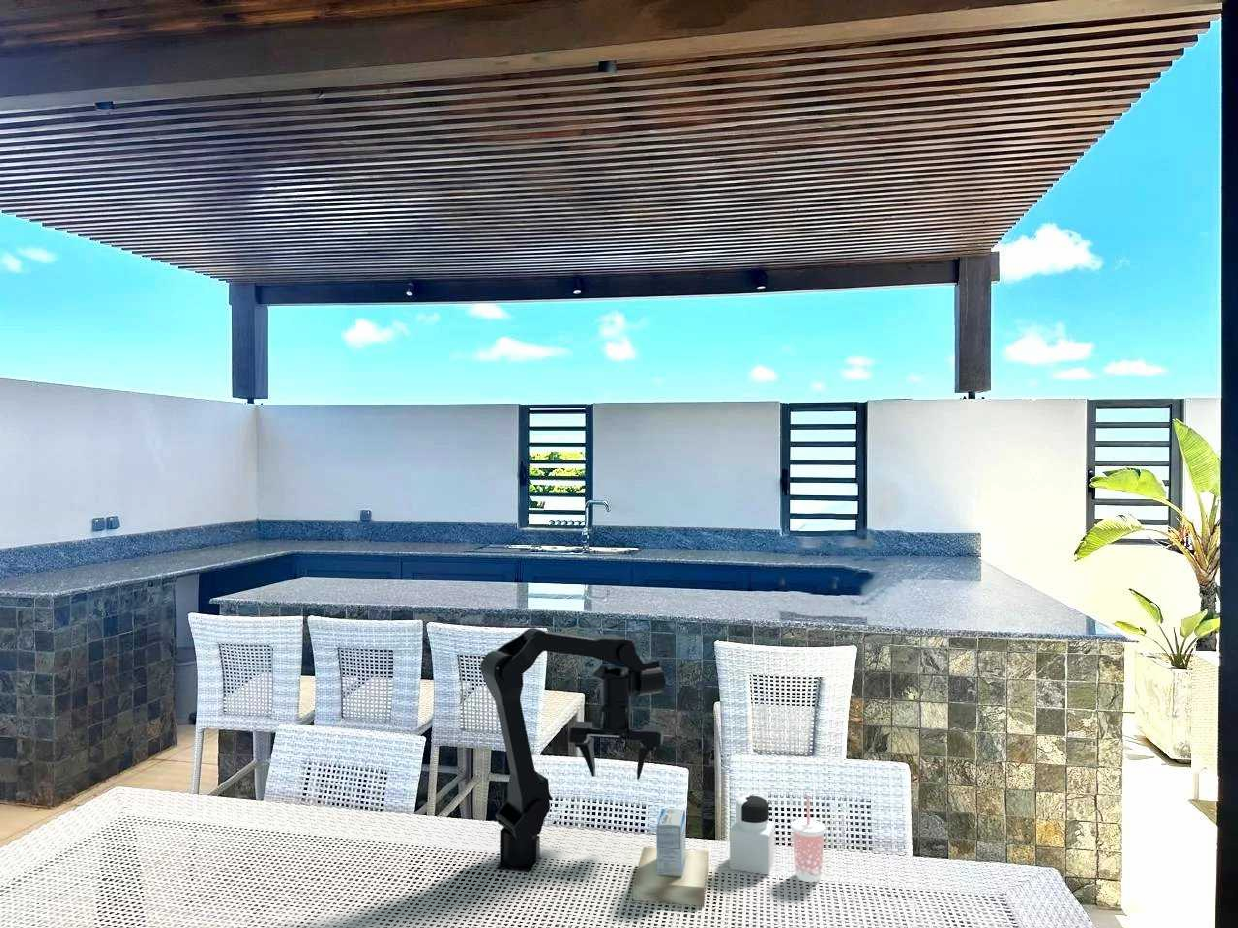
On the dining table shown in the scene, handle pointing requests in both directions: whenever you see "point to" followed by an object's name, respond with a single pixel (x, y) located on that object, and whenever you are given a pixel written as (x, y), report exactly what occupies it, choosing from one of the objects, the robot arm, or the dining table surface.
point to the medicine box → (671, 842)
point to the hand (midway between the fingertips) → (615, 777)
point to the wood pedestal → (672, 880)
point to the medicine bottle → (752, 836)
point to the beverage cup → (808, 847)
